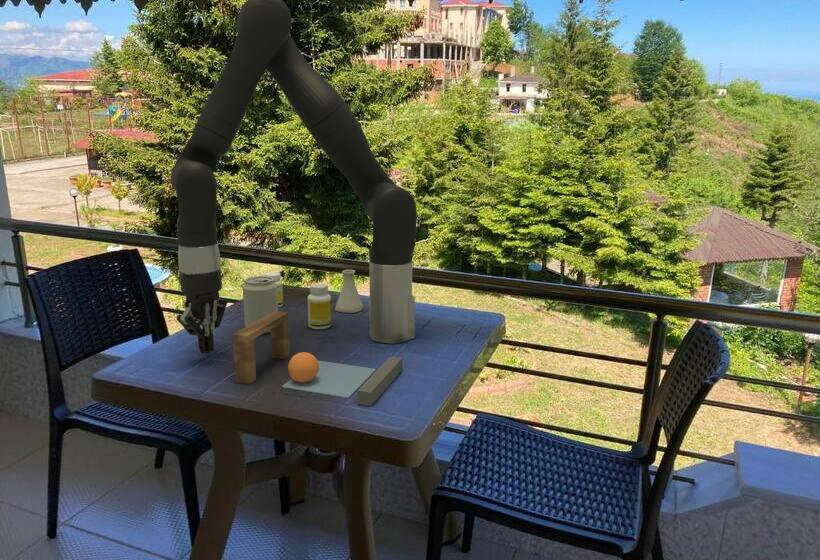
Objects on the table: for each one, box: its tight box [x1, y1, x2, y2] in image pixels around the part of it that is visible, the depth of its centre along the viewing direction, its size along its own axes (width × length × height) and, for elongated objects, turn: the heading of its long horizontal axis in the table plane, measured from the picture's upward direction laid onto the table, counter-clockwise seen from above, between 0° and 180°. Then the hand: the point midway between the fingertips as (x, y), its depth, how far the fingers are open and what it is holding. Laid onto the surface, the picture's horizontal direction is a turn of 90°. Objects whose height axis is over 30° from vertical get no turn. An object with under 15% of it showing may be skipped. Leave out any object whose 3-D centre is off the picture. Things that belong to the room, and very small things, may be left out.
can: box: [242, 275, 279, 335], centre depth 136 cm, size 8×8×12 cm
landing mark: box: [281, 359, 377, 399], centre depth 112 cm, size 13×13×1 cm
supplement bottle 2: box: [306, 282, 333, 330], centre depth 139 cm, size 5×5×10 cm
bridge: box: [232, 310, 291, 385], centre depth 115 cm, size 3×14×9 cm, turn 161°
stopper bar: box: [356, 356, 403, 407], centre depth 109 cm, size 2×16×2 cm, turn 162°
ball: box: [287, 351, 319, 383], centre depth 110 cm, size 6×6×6 cm
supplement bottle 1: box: [263, 271, 284, 308], centre depth 154 cm, size 5×5×8 cm
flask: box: [334, 269, 364, 314], centre depth 152 cm, size 7×7×10 cm
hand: (206, 352), depth 120 cm, fingers closed
